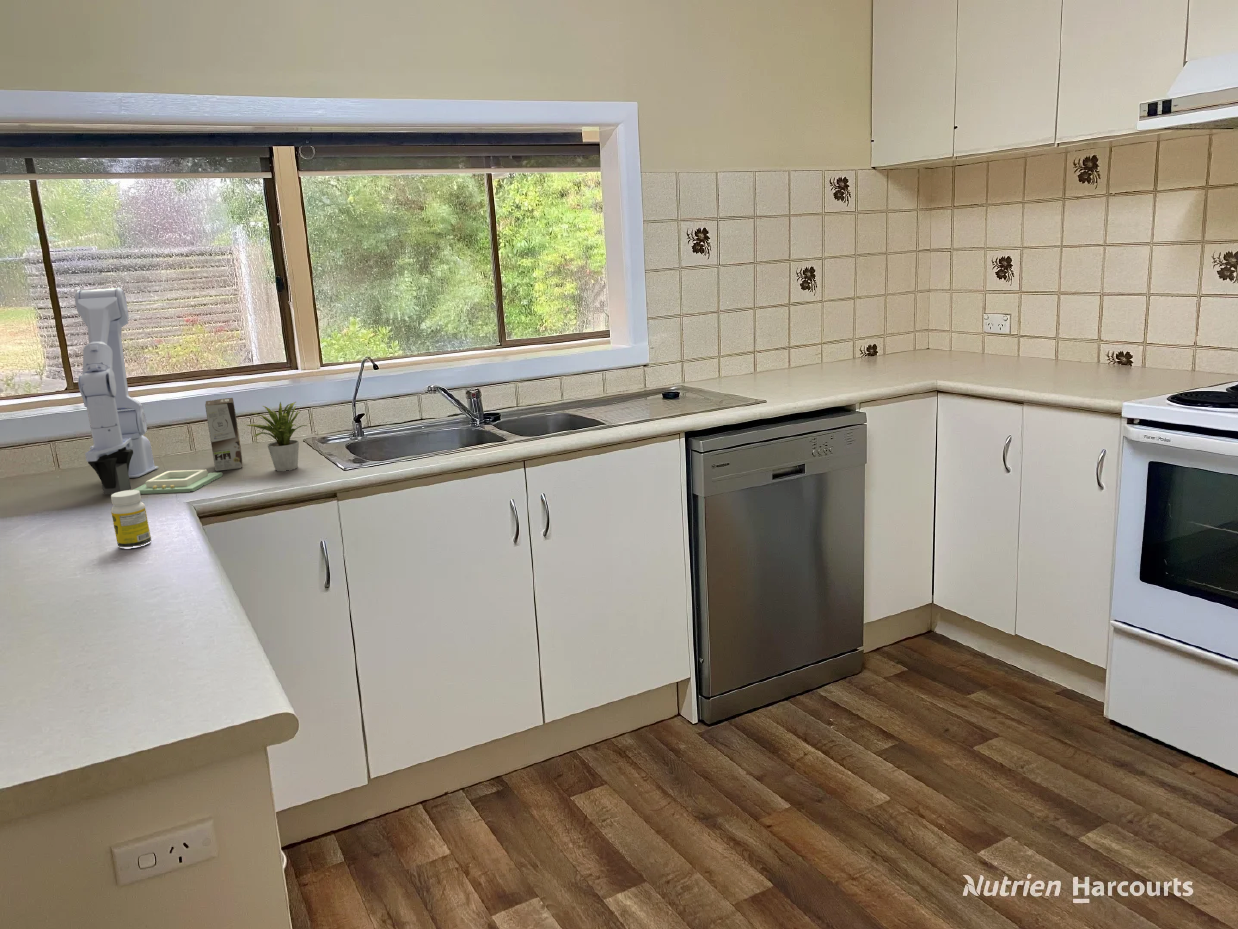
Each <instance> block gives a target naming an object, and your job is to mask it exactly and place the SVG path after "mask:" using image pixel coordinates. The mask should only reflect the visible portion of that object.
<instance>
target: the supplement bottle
mask: <svg viewBox="0 0 1238 929" xmlns="http://www.w3.org/2000/svg"><path fill="white" fill-rule="evenodd" d="M110 498H111V503H112V508H111V509H110V510H111V518H112V524H113V527H114V534H115V538H116V543H117V547H118V546H119V547H133V546H141V545H144V544H146V543H148V542H150V541H151V542H152V536H151V531H150V526H149V520H148V514H147V510H146V505H145V503H143V501H142V497H141V494H140V491H138V490H134V489H130V490H126V491H121V492H117V493H114V494H110ZM119 547H118V548H119Z"/></svg>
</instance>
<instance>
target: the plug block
mask: <svg viewBox="0 0 1238 929" xmlns="http://www.w3.org/2000/svg"><path fill="white" fill-rule="evenodd" d="M115 481H116V486H115V488H113V489H105V488H104V486H103V484H102V482H101V481H100V482H101V487H102V492H103V495H112V494H114V493H117V492H121V491H126V490H132V487H131V480H130V478H129V475H128V469H127V464H126V463H120V464H115Z"/></svg>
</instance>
